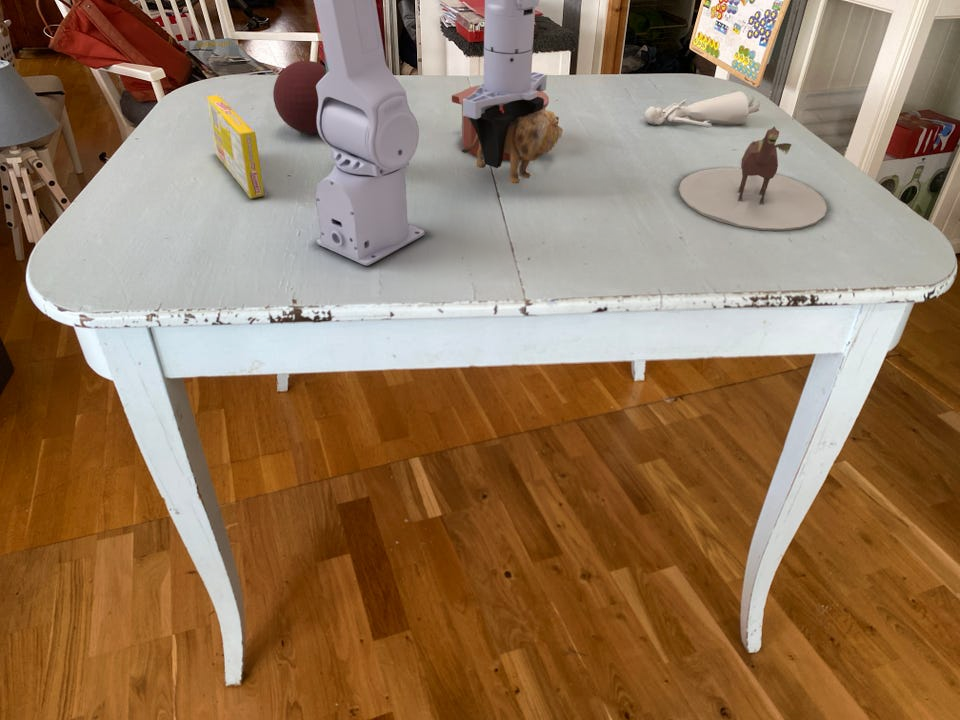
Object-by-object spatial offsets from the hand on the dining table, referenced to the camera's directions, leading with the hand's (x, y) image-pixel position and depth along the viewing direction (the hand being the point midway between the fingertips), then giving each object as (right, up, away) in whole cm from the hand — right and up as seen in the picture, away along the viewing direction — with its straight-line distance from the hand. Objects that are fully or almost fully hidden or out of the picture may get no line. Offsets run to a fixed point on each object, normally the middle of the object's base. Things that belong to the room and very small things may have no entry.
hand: (504, 159), depth 91 cm
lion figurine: (0, -2, +1) cm, 2 cm away
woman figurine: (+32, +12, +21) cm, 40 cm away
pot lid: (0, +11, +8) cm, 13 cm away
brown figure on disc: (+31, -5, -1) cm, 32 cm away
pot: (0, +6, +12) cm, 13 cm away
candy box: (-35, -2, +2) cm, 35 cm away
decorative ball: (-28, +8, +16) cm, 33 cm away
